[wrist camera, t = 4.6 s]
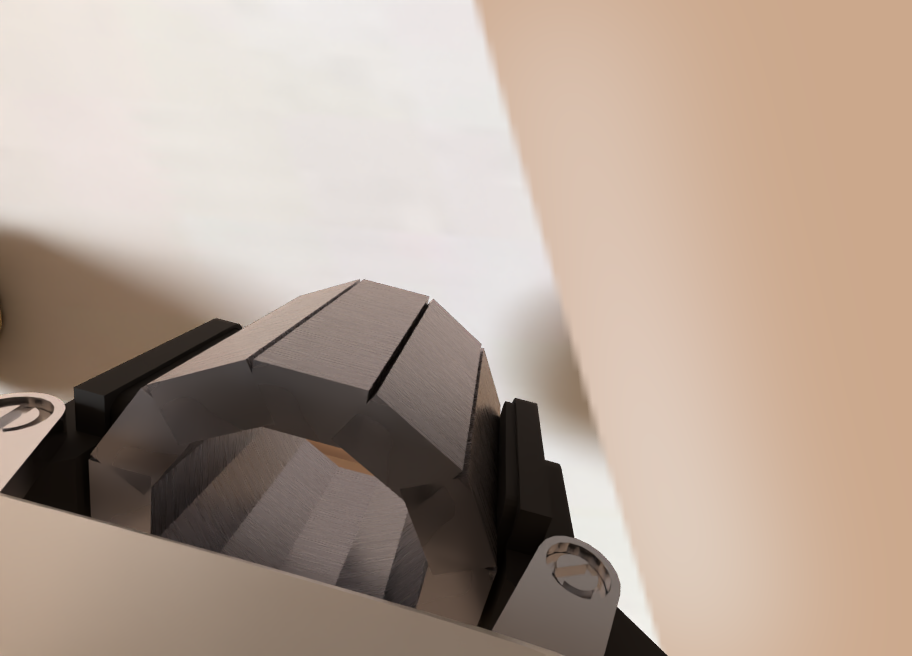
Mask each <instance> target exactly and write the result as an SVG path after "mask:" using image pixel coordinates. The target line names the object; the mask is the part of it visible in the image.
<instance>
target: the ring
mask: <svg viewBox="0 0 912 656" xmlns="http://www.w3.org/2000/svg"><path fill="white" fill-rule="evenodd" d="M428 299H429V296H426V295H422V294H418V293H414V292H411V291H407V290H403V289H399V288H395V287H392V286H388V285H384V284H380V283H376V282H373V281H369V280H365V279H364V280H362V281H361V282H360V279H359V280H355V281H352V282H348V283H344V284H341V285H337V286H334V287H330V288H327V289H323V290H319V291H316V292H312V293H309V294H305V295H302V296H299V297H297V298H295V299H294V300H292V301H290V302H288V303H287V304H285V305H283V306H281V307H280V308H278V309H276V310H275V311H273V312H271V313H269V314H268V315H266V316H264V317H262V318H261V319H259V320H257V321H256V322H254V323H252V324H250V325H249V326H247V327H245V328H243V329H242V330H240V331H238V332H237V333H235V334H233V335H231V336H230V337H228V338H226V339H224V340H223V341H221V342H219V343H218V344H216V345H214V346H212V347H211V348H209V349H207V350H205V351H204V352H202V353H200V354H199V355H197V356H195V357H193V358H192V359H190V360H188V361H187V362H185V363H183V364H181V365H180V366H178V367H176V368H174V369H173V370H171V371H169V372H168V373H166V374H164V375H162V376H161V377H159V378H157V379H155V380H154V381H152V382H150V383H149V384H147V385H146V386H144V387H142V388H141V389H140V390H139V391H138V393H137V394H136V395H135V397H134V398H133V399H132V400H131V402H130V403H129V404H128V406H127V407H126V408H125V410H124V411H123V412H122V414H121V415H120V416H119V417H118V419H117V420H116V421H115V423H114V424H113V425H112V427H111V428H110V429H109V430H108V432H107V433H106V434H105V436H104V437H103V438H102V440H101V441H100V442H99V443H98V445H97V446H96V447H95V449H94V450H93V451H92V453H91V454H90V455H92V456H93V457H92V458H90V459H89V481H90V506H91V518H94V519H98V520H102V521H105V522H109V523H113V524H116V525H120V526H124V527H127V528H131V529H135V530H138V531H142V532H145V533H149V534H153V535H156V536H160V537H163V538H167V539H171V540H174V541H178V542H181V543H185V544H189V545H192V546H196V547H199V548H203V549H207V550H210V551H214V552H217V553H221V554H224V555H228V556H232V557H235V558H239V559H242V560H246V561H249V562H253V563H257V564H260V565H264V566H267V567H271V568H274V569H278V570H282V571H285V572H289V573H292V574H296V575H299V576H303V577H306V578H310V579H313V580H317V581H320V582H324V583H327V584H331V585H334V586H338V587H341V588H345V589H348V590H352V591H355V592H359V593H362V594H366V595H369V596H373V597H376V598H380V599H383V600H387V601H390V602H394V603H397V604H401V605H404V606H408V607H411V608H415V609H418V610H422V611H425V612H429V613H432V614H435V615H439V616H442V617H446V618H449V619H452V620H456V621H459V622H463V623H466V624H470V625H473V626H477V625H478V622H479V619H480V617H481V614H482V611H483V608H484V605H485V603H486V600H487V597H488V594H489V591H490V589H491V586H492V583H493V580H494V577H495V575H496V569H497V534H496V530H497V495H498V460H499V425H500V402H499V399H498V395H497V392H496V388H495V385H494V381H493V378H492V375H491V371H490V368H489V364H488V361H487V357H486V354H485V351H484V348H481V343H480V342H479V341H478V340H476V339H475V338H474V337H473V336H472V335H471V334H470V333H469V332H468V331H467V330H466V329H465V328H464V327H463V326H462V325H461V324H460V323H458V322H457V321H456V320H455V319H454V318H453V317H452V316H451V315H450V314H449V313H448V312H447V311H446V310H445V309H444V308H443V307H442V306H440V305H439V304H438V303H437V302H436V301H435V300H434V299H433V300H432V301H431V302H430V303H429V304H428ZM427 304H428V305H427ZM306 439H309V440H312V441H316V442H320V443H323V444H327V445H331V446H334V447H338V448H342V449H343V450H344V451H346V452H347V453H348V454H349V455H350V456H351V457H353V458H354V459H355V460H356V461H357V462H359V463H360V464H361V465H362V466H363V467H365V468H366V469H367V470H368V471H369V472H370V473H372V474H373V475H374V476H371V475H367V474H364V473H360V472H356V471H353V470H349V469H345V468H342V467H339V466H337V465H336V464H335V463H334V462H333V461H331V460H330V459H329V458H328V457H327V456H325V455H324V454H323V453H322V452H321V451H319V450H318V449H317V448H316V447H315V446H313V445H312V444H311V443H310V442H309V441H307V440H306Z"/></svg>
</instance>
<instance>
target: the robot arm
mask: <svg viewBox="0 0 912 656" xmlns="http://www.w3.org/2000/svg"><path fill="white" fill-rule="evenodd" d="M240 330H242V327H241V325H240V324H236V323H233V322H229V321H225V320H221V319H218V318H216V319H213V320H211V321H209V322H207V323H205V324H203V325H201V326H199V327H197V328H195V329H193V330H191V331H188V332H186V333H184V334H182V335H180V336H178V337H176V338H174V339H172V340H170V341H168V342H166V343H164V344H162V345H160V346H158V347H156V348H154V349H152V350H150V351H147V352H145V353H143V354H141V355H139V356H137V357H135V358H133V359H131V360H129V361H127V362H125V363H123V364H121V365H119V366H117V367H115V368H113V369H111V370H109V371H106V372H104V373H102V374H100V375H98V376H96V377H94V378H92V379H90V380H88V381H86V382H84V383H82V384H80V385H78V386H76V387H74V399H73V400H71V401H70V402H68V403H66V404H64V402H63V401H62V400H60V399H59V398H58V397H55V396H52V395H49V394H44V393H35V392H20V393H9V394H2V395H0V656H667V655H666V654H665V653H664V652H663V651H662V650H661V649H660V648H659V647H658V646H657V645H656V644H655V643H654V642H653V641H652V640H651V639H650V638H649V637H648V636H647V635H646V634H645V633H644V632H643V631H642V630H640V629H639V628H638V627H637V626H636V625H635V624H634V623H633V622H632V621H631V620H630V619H629V618H628V617H627V616H626V615H625V614H624V613H623V612H622V611H621V610H620V609H619V608H618V607H617V605H618V601H619V597H620V581H619V578H618V575H617V573H616V571H615V570H614V568H613V566H612V565H611V563H610V562H609V561H608V560H607V559H606V558H605V557H604V556H603V555H602V554H601V553H600V552H599V551H598V550H596V549H595V548H593V547H592V546H590V545H589V544H587V543H585V542H583V541H581V540H579V539H576V538H574V533H573V528H572V523H571V517H570V512H569V507H568V501H567V496H566V491H565V485H564V480H563V475H562V469H561V466H560V464H558V463H554V462H551V461H547V460H545V458H544V451H543V443H542V436H541V429H540V421H539V414H538V406H537V404H536V403H532V402H529V401H525V400H521V399H517V398H515V399H514V400H513V402H512V403H510V402H506V401H505V403H504V405H503V408H502V411H501V415H500V425H499V460H498V495H497V530H496V534H497V569H496V575H495V577H494V580H493V583H492V586H491V589H490V591H489V594H488V597H487V600H486V603H485V605H484V608H483V611H482V614H481V617H480V619H479V622H478V625H477V626H473V625H470V624H466V623H463V622H459V621H456V620H452V619H449V618H446V617H442V616H439V615H435V614H432V613H429V612H425V611H422V610H418V609H415V608H411V607H408V606H404V605H401V604H397V603H394V602H390V601H387V600H383V599H380V598H376V597H373V596H369V595H366V594H362V593H359V592H355V591H352V590H348V589H345V588H341V587H338V586H334V585H331V584H327V583H324V582H320V581H317V580H313V579H310V578H306V577H303V576H299V575H296V574H292V573H289V572H285V571H282V570H278V569H274V568H271V567H267V566H264V565H260V564H257V563H253V562H249V561H246V560H242V559H239V558H235V557H232V556H228V555H224V554H221V553H217V552H214V551H210V550H207V549H203V548H199V547H196V546H192V545H189V544H185V543H181V542H178V541H174V540H171V539H167V538H163V537H160V536H156V535H153V534H149V533H145V532H142V531H138V530H135V529H131V528H127V527H124V526H120V525H116V524H113V523H109V522H105V521H102V520H98V519H94V518H91V506H90V481H89V459H90V458H92V457H93V456H92V455H90V454H91V453H92V451H93V450H94V449H95V447H96V446H97V445H98V443H99V442H100V441H101V440H102V438H103V437H104V436H105V434H106V433H107V432H108V430H109V429H110V428H111V427H112V425H113V424H114V423H115V421H116V420H117V419H118V417H119V416H120V415H121V414H122V412H123V411H124V410H125V408H126V407H127V406H128V404H129V403H130V402H131V400H132V399H133V398H134V397H135V395H136V394H137V393H138V391H139V390H140V389H141V388H142V387H144V386H146V385H147V384H149V383H150V382H152V381H154V380H155V379H157V378H159V377H161V376H162V375H164V374H166V373H168V372H169V371H171V370H173V369H174V368H176V367H178V366H180V365H181V364H183V363H185V362H187V361H188V360H190V359H192V358H193V357H195V356H197V355H199V354H200V353H202V352H204V351H205V350H207V349H209V348H211V347H212V346H214V345H216V344H218V343H219V342H221V341H223V340H224V339H226V338H228V337H230V336H231V335H233V334H235V333H237V332H238V331H240Z"/></svg>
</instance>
